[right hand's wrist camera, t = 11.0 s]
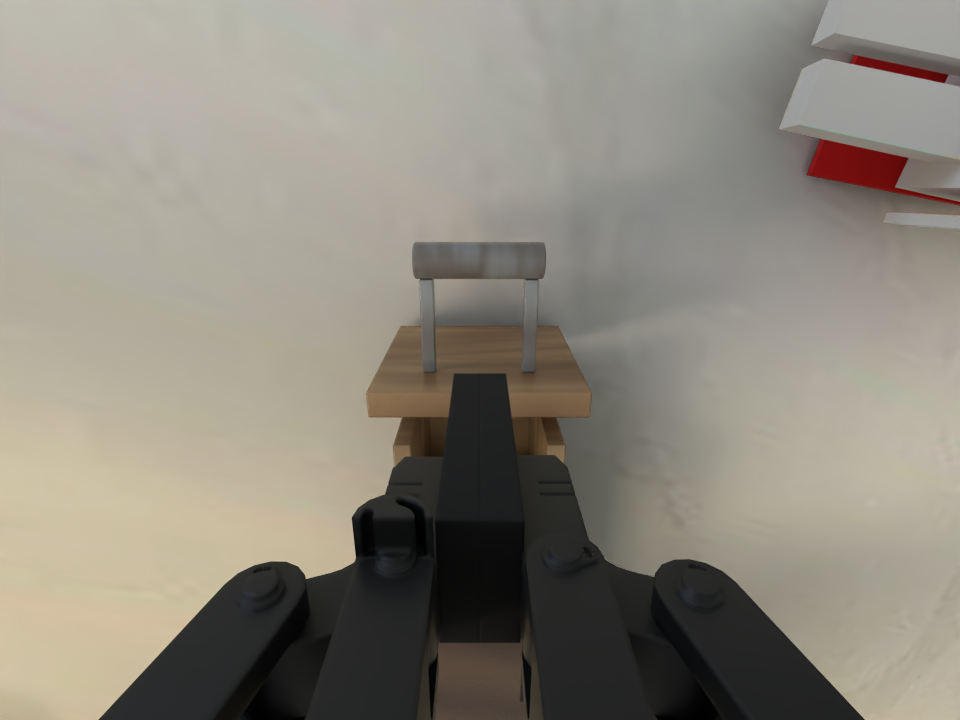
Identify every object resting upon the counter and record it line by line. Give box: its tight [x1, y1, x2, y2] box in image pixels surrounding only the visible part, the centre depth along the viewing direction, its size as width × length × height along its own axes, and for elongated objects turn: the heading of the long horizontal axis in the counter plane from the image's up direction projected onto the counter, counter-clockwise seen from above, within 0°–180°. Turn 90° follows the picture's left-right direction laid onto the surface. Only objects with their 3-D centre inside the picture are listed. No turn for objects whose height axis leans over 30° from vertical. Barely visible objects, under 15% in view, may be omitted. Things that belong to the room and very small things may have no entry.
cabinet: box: [435, 642, 525, 720], centre depth 32 cm, size 16×11×12 cm, turn 0°
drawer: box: [366, 242, 592, 467], centre depth 28 cm, size 21×10×10 cm, turn 0°
